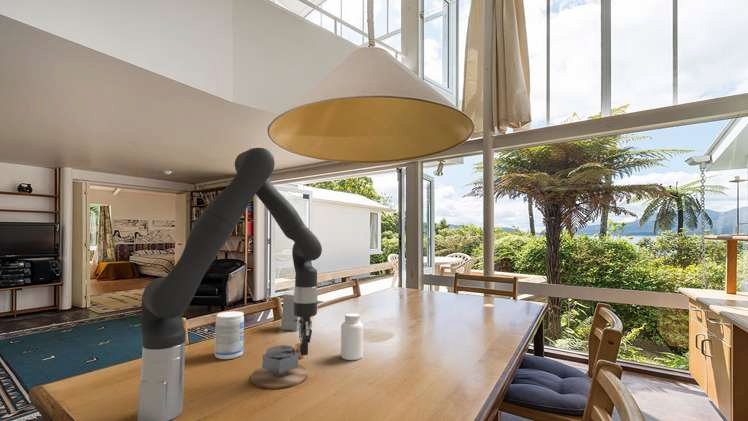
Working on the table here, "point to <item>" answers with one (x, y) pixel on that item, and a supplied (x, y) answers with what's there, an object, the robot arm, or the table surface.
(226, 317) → the supplement tub
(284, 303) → the skincare box
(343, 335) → the pill bottle
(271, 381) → the post base
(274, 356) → the coupling
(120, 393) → the table surface
